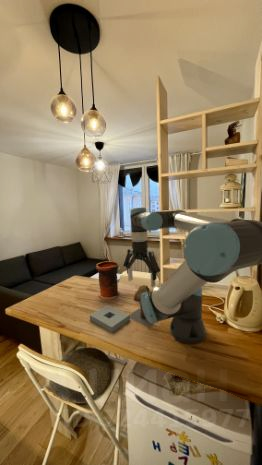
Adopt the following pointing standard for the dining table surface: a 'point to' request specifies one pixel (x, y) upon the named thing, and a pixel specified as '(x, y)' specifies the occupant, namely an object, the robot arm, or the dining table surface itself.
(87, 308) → the dining table surface
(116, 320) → the block
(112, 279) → the vessel
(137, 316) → the mat
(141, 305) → the peg
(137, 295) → the rock
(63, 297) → the dining table surface
